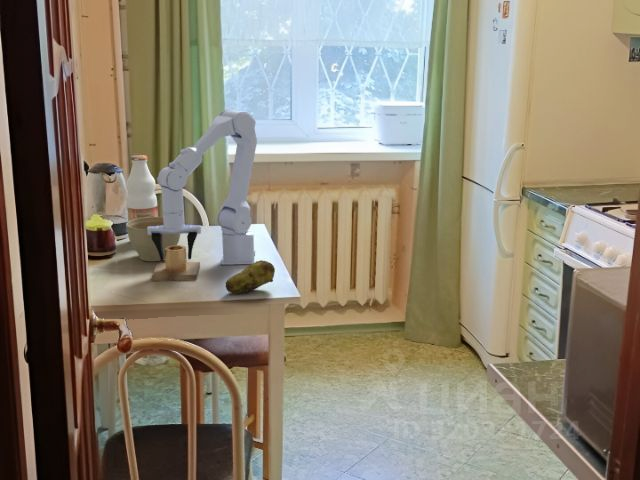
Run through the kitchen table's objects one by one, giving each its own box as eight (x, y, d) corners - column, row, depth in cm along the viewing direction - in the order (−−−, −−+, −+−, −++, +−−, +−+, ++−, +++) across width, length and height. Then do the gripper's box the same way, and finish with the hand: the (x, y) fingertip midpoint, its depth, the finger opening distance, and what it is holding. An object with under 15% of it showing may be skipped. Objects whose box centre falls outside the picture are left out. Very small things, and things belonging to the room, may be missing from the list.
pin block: (200, 266, 227) (199, 246, 225) (196, 279, 215) (195, 258, 214) (158, 268, 226) (156, 247, 225) (152, 280, 215) (150, 259, 213)
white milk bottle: (123, 243, 252) (117, 157, 244) (143, 237, 260) (137, 153, 252) (146, 247, 247) (140, 159, 240) (165, 240, 255) (160, 155, 248)
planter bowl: (166, 267, 227) (164, 230, 224) (118, 262, 232) (115, 226, 229) (192, 252, 241) (191, 218, 239) (146, 248, 246) (144, 214, 244)
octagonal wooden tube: (187, 265, 223) (186, 245, 222) (185, 271, 218) (184, 250, 216) (167, 265, 223) (166, 245, 221) (165, 271, 217) (163, 251, 216)
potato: (226, 287, 209) (225, 258, 207) (274, 285, 210) (274, 256, 208) (225, 297, 201) (224, 267, 199) (275, 295, 202) (275, 266, 200)
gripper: (144, 215, 212) (147, 263, 215) (198, 214, 213) (201, 262, 216) (148, 209, 219) (151, 256, 222) (200, 208, 219) (203, 255, 223)
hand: (176, 258), depth 220 cm, fingers open, 7 cm apart
